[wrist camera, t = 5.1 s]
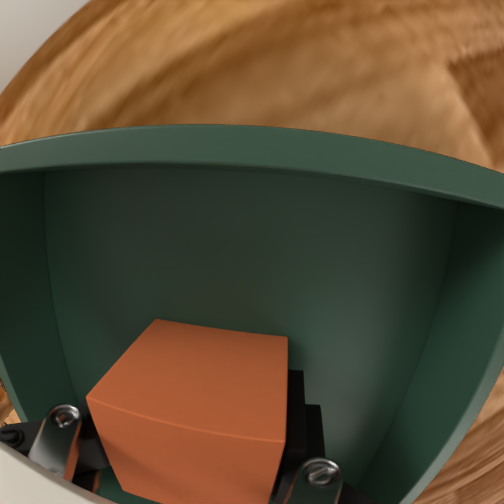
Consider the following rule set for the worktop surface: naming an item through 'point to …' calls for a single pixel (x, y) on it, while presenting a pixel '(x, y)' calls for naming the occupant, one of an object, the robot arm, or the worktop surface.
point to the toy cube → (195, 414)
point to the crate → (263, 276)
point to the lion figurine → (5, 409)
